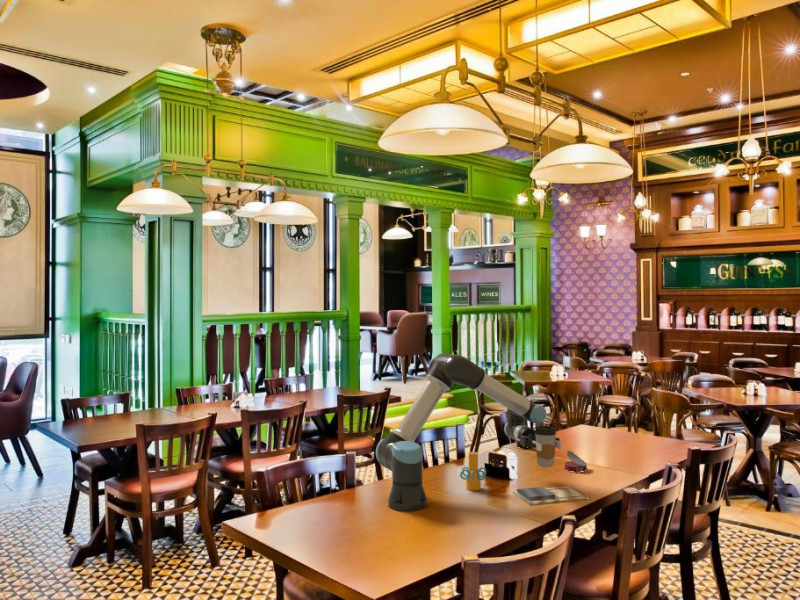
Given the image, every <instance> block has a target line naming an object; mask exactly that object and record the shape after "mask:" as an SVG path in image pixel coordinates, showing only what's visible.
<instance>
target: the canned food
mask: <svg viewBox="0 0 800 600" xmlns="http://www.w3.org/2000/svg"><path fill="white" fill-rule="evenodd" d="M566 456H567V457H568V459H569V460H570V461H566V462H564V470H565V469H566V470H568V471H574V472H580V471H585V470H587V471H588V469H587V468H588V467H587V466H588V465H587V462H585V460H583V459H582V458H581V457H579V456H578V455H577V454H576V453H574V451H572V450H567V452H566Z"/></svg>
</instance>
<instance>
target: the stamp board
mask: <svg viewBox="0 0 800 600" xmlns="http://www.w3.org/2000/svg"><path fill="white" fill-rule="evenodd" d="M511 493H512V494H513V495H514V496H515V497H518V498H519V499H520V500H522V502H524V503H526V504H528V505H529V506H533V505H543V504H544V505H545V504H555V503H554V502H556V503H563V502H562V501H567V502H571V501H570V500H577V499H587V498H590V499H591V496H588V495H587V494H585V493H583V492H582V491H579V490H577V489H576V488H575V487H572V486H570V485H568V486H557V487H543V486H538V487H525V488H524V487H522V488H517V489H516V490H512V492H511ZM577 501H578V500H577Z"/></svg>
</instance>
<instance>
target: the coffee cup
mask: <svg viewBox="0 0 800 600" xmlns="http://www.w3.org/2000/svg"><path fill="white" fill-rule="evenodd" d="M534 430H535V436H536V442H538V443H540V444H542V451H539V450H536V449H535V450H536V458H537V462H536V463H537V464H538V466H539V467H542V468H551V467H554V465H555V455H556V447H555V437H556V434H557V433H556V428H555V427H554V426H549V425H538V426H536V427H535V429H534Z"/></svg>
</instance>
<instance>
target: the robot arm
mask: <svg viewBox="0 0 800 600" xmlns="http://www.w3.org/2000/svg"><path fill="white" fill-rule="evenodd" d="M427 368H428V372H427V373H426V375H425V376H426V381H425V384H424V385H423V387H422V388H421V390H420V392H419V394H417V397H416V398H415V399H414V401H413V402H412V404H411V406H410V407H409V409H408V411H407V412H406V414H405V415H404V417H403V418H402V420H401V422H400V423H399V425H398V427H397V429H394V430H391V431H390V432H389V434H388V435H387V436H386V437H384V438H382V439H381V440H380V441H379V442H378V443H377V445H376V449H375V456H376V457H375V458H376V460H377V462H378V463H379V464H380V465H381V466H382V467H383V468H385V469H387V470H389V471H391V472H392V473H391V474H392V479H391V480H392V485H391V490H390V492H389V495H388V499H387V502H388V503H387V505H388V507H389V508H390V509H392V510H395V511H403V512H407V511H408V512H412V511H419V510H422V509H425V508H427V507H428V498H427V494H426V491H425V489H424V485H423V457H424V455H423V449H422V446H421V445H420V444H419V443H417V442H415V440H416V439H417V437H418V436H419V434H420V432H421V431H422V429H423V428H424V426H425V424H426V423H427V421H428V419H429V418H430V416H431V414H432V412H433V411H434V409H435V408H436V406H437V405H438V403H439V401H440V400H441V398H442V396H443V395H444V394H445V392H449V391H450V390H451V389H452V387H453V385H454V384H456V385H460V386H464V387H467V388H468V389H470V390H472V391H474V390H476V391H478V392H480V393H481V394H483V395H485V396H487V397H489V398H491V400H493V401H496V403H499V404H500V405H501V406H504V407H505V408H507V409H506V410H507V422H506V423H505V425H504V427H503V429H504V430H503V431H504V434H505V435H506V436H507V437H509V438H510V439H512V440H514V441H517V442H518V443H520V444H521V445H523V446H524V447H527V446H529V449H528V450H532V449H534V450H539V451H542V444H540V443H538V442H536V436H535V430H536V429H534V428H531V427H530V426H527V425H526V423H525V422H526V421H528V422H531V423H533V424H542V423H543V422H544V421H545V420H546V418H547V410H546V408H545V406H543V405H541V404H536V403H534V402H533V401H531V400H529V399H528V398H526V397H525V396H523V395H522V394H519V393H518V392H516V391H515V390H513V389H512V388H510V387H508V386H507V385H505V384H504V383H502V382H500V381H498V380H497V379H496V378H494V377H492V376H491V375H488V374H487V373H486V370H485V369H484V368H482V367H480V366H479V365H478V364H476V362H475V363H474V361H471V359H468V358H467V357H465V356H463V355H460V354H453V353H447V352H444V353H438V354H436V355H433V357H432V358H431V359H430V360H429V363H428V367H427ZM563 448H564V447H563V442H562V441H560V438H559V437H557V436H555V449H559V450H563Z"/></svg>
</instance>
